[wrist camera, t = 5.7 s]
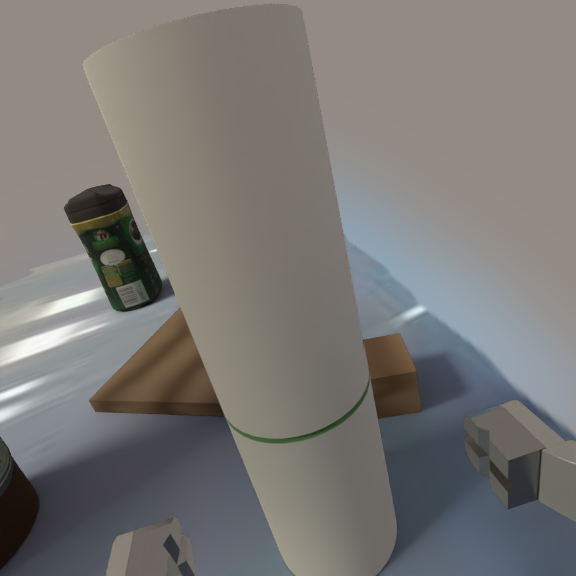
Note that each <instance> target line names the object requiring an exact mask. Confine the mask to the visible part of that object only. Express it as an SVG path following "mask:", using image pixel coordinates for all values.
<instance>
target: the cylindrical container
mask: <svg viewBox="0 0 576 576" xmlns="http://www.w3.org/2000/svg"><path fill="white" fill-rule="evenodd" d="M83 69H84V72H85V74H86V77H87V79H88V82H89V84H90V86H91V89H92V91H93V94H94V96H95V99H96V101H97V104H98V106H99V109H100V111H101V113H102V116H103V118H104V121H105V123H106V126H107V128H108V130H109V133H110V135H111V138H112V140H113V143H114V145H115V148H116V150H117V153H118V155H119V158H120V160H121V162H122V165H123V167H124V170H125V172H126V175H127V177H128V180H129V182H130V185H131V187H132V189H133V192H134V194H135V197H136V199H137V202H138V204H139V207H140V209H141V212H142V214H143V217H144V219H145V221H146V224H147V226H148V229H149V231H150V234H151V236H152V239H153V241H154V244H155V246H156V248H157V251H158V253H159V256H160V258H161V261H162V263H163V266H164V268H165V271H166V273H167V275H168V278H169V280H170V283H171V285H172V288H173V290H174V293H175V295H176V298H177V300H178V302H179V305H180V307H181V310H182V312H183V315H184V317H185V320H186V322H187V325H188V327H189V329H190V332H191V334H192V337H193V339H194V342H195V344H196V347H197V349H198V351H199V354H200V356H201V359H202V361H203V364H204V366H205V369H206V371H207V374H208V376H209V378H210V381H211V383H212V386H213V388H214V391H215V393H216V396H217V398H218V401H219V403H220V405H221V408H222V410H223V413H224V415H225V418H226V420H227V423H228V425H229V428H230V430H231V433H232V435H233V437H234V440H235V442H236V445H237V447H238V450H239V452H240V455H241V457H242V460H243V462H244V465H245V467H246V470H247V472H248V474H249V477H250V479H251V482H252V484H253V487H254V489H255V492H256V494H257V497H258V499H259V502H260V504H261V506H262V509H263V511H264V514H265V516H266V519H267V521H268V524H269V526H270V529H271V531H272V534H273V536H274V539H275V541H276V543H277V546H278V548H279V551H280V553H281V556H282V558H283V559H284V561H285V563H286V565H287V567H288V568H289V569H290V570H291V572H292V573H293V574H294V575H295V576H376V575H377V574H378V573H380V571H381V570H382V569H383V567H384V566H385V565H386V563H387V562H388V561H389V559H390V556H391V554H392V552H393V550H394V547H395V542H396V537H397V521H396V516H395V510H394V505H393V499H392V494H391V488H390V483H389V477H388V472H387V467H386V461H385V456H384V450H383V445H382V439H381V434H380V428H379V423H378V418H377V412H376V407H375V401H374V396H373V390H372V385H371V379H370V374H369V369H368V363H367V358H366V352H365V347H364V342H363V336H362V331H361V325H360V320H359V314H358V309H357V304H356V298H355V293H354V288H353V282H352V277H351V271H350V266H349V261H348V255H347V250H346V245H345V239H344V234H343V228H342V223H341V218H340V212H339V208H338V202H337V196H336V191H335V185H334V180H333V175H332V169H331V164H330V159H329V153H328V149H327V143H326V137H325V132H324V126H323V121H322V115H321V110H320V105H319V99H318V94H317V89H316V84H315V78H314V73H313V67H312V62H311V56H310V51H309V46H308V40H307V35H306V29H305V24H304V19H303V13H302V10H301V9H300V8H298V7H296V6H292V5H287V4H264V5H252V6H243V7H236V8H230V9H224V10H219V11H214V12H209V13H204V14H199V15H194V16H191V17H187V18H183V19H179V20H176V21H172V22H168V23H165V24H161V25H158V26H155V27H152V28H149V29H146V30H143V31H140V32H137V33H135V34H132V35H129V36H127V37H124V38H122V39H120V40H117V41H115V42H113V43H111V44H109V45H107V46H104V47H102V48H101V49H99V50H98V51H96V52H94V53H93V54H91V55H90V56H89V57H88V58H87V59H86V60H85V61H84V62H83Z"/></svg>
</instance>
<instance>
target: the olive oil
mask: <svg viewBox="0 0 576 576" xmlns="http://www.w3.org/2000/svg"><path fill="white" fill-rule="evenodd" d="M38 505H39V500H38V496H37V493H36V491H35V489H34V488H33V486H32V485H31V483H30V482H29V481H28V479H27V478H26V476H25V475H24V473H23V472H22V471H21V469H20V468H19V466H18V465H17V463H16V462H15V461H14V459H13V457H12V456H11V453H10V451H9V449H8V447H7V445H6V444H5V443H4V441H3V440H2V438H1V437H0V568H1V567H2V566H3V565H4V564H5V563H6V562H7V561H8V560H9V559H10V557H11V556H12V555H13V554H14V553H15V551H16V550H17V549H18V548H19V546H20V545H21V543H22V542H23V541H24V539H25V537H26V536H27V534H28V533H29V531H30V529H31V527H32V525H33V523H34V520H35V518H36V515H37V511H38Z"/></svg>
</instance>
